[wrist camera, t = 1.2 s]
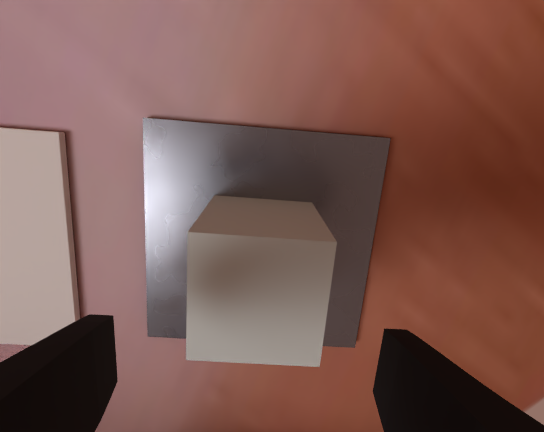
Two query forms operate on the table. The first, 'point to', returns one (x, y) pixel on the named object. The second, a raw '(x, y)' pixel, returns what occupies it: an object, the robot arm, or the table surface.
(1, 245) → the mat
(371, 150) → the post base
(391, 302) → the table surface
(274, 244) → the pale grey cube box
